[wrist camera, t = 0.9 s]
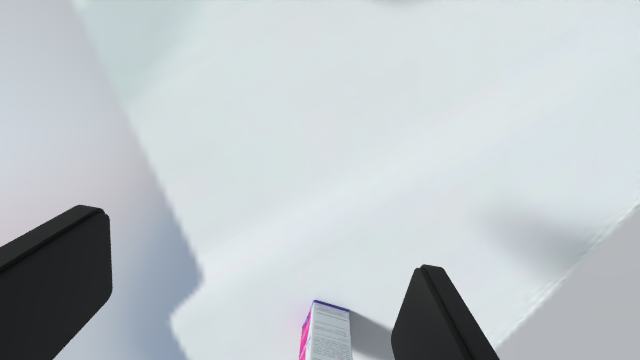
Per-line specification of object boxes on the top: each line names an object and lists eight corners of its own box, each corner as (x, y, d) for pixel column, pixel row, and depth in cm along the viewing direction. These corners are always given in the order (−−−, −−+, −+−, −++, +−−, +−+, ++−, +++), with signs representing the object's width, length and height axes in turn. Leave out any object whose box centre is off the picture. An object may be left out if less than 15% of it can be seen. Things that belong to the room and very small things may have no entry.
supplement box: (312, 298, 45) (309, 370, 34) (349, 309, 45) (358, 383, 35) (300, 327, 47) (293, 403, 36) (336, 337, 47) (340, 415, 37)
